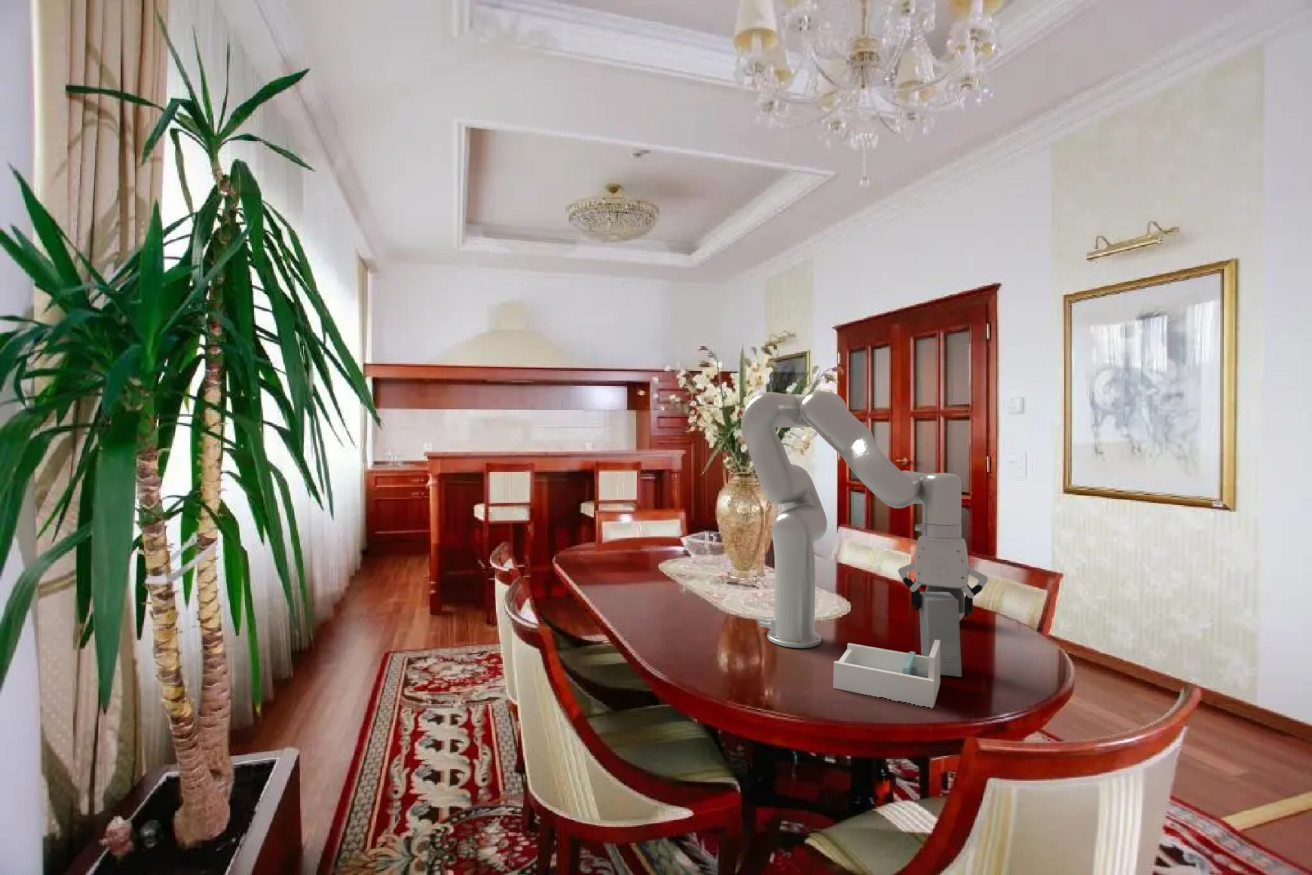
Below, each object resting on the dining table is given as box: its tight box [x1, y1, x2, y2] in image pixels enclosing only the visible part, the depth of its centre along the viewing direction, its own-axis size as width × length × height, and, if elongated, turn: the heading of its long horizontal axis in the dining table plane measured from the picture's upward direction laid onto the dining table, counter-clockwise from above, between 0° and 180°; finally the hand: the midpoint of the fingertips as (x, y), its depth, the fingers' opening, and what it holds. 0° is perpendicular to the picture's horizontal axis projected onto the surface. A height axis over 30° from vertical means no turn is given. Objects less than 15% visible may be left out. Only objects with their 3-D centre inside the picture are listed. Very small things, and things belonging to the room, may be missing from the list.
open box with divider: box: [832, 640, 941, 709], centre depth 125 cm, size 18×13×9 cm
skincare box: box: [919, 591, 963, 678], centre depth 134 cm, size 8×7×16 cm
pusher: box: [903, 650, 929, 678], centre depth 122 cm, size 4×10×5 cm, turn 151°
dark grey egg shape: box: [925, 585, 966, 622], centre depth 167 cm, size 10×10×15 cm
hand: (941, 612), depth 133 cm, fingers open, 9 cm apart
